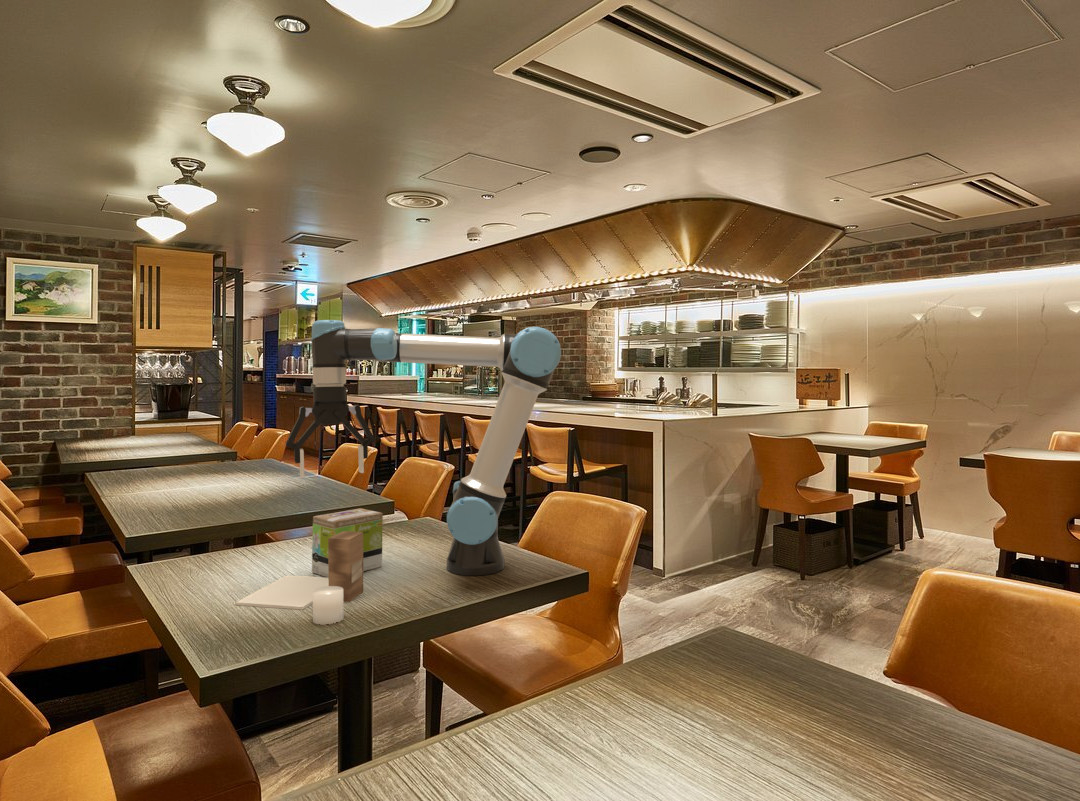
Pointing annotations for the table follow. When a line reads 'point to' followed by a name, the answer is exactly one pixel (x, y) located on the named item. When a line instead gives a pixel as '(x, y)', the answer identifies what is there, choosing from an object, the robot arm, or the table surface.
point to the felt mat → (286, 593)
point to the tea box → (349, 522)
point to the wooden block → (346, 563)
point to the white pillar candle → (328, 605)
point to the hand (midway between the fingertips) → (332, 474)
